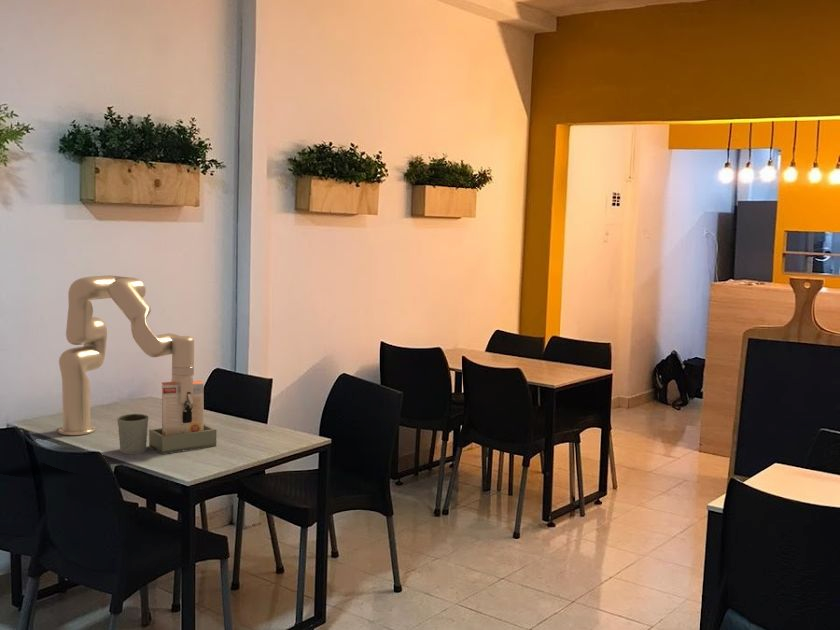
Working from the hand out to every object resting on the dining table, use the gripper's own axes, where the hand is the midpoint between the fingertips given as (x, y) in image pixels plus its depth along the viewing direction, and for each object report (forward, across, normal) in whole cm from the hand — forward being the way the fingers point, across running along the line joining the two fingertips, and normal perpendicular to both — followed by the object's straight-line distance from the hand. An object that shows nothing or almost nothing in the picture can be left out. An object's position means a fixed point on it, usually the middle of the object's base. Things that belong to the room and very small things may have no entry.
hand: (182, 419), depth 301 cm
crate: (+10, 0, 0) cm, 10 cm away
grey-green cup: (+10, -3, -17) cm, 20 cm away
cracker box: (+8, 0, 0) cm, 8 cm away
